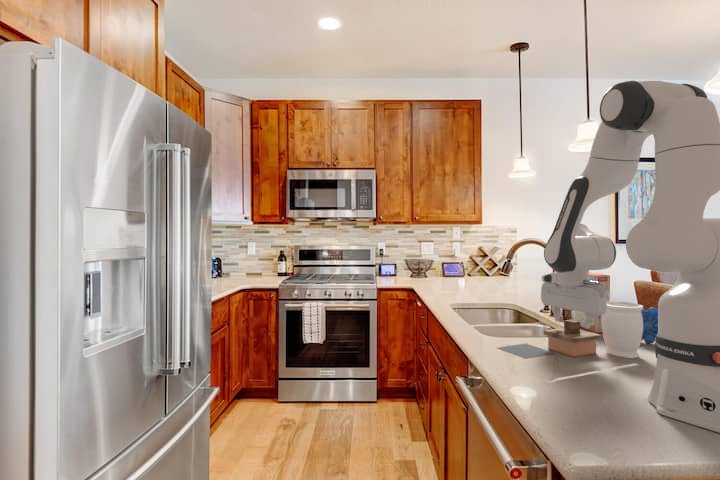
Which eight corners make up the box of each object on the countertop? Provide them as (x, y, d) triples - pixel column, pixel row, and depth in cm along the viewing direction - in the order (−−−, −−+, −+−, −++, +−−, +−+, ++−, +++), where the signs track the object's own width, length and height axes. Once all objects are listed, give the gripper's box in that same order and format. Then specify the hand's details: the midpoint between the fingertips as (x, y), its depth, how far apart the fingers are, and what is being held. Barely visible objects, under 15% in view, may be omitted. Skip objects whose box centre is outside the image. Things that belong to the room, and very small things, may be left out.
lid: (601, 339, 120) (602, 322, 119) (574, 343, 115) (574, 326, 115) (569, 330, 130) (569, 315, 130) (543, 334, 125) (543, 319, 125)
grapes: (671, 343, 132) (672, 306, 132) (670, 348, 127) (670, 309, 126) (629, 338, 139) (629, 302, 139) (625, 342, 134) (625, 305, 134)
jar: (650, 361, 115) (650, 307, 114) (609, 359, 117) (609, 306, 116) (633, 350, 125) (633, 301, 125) (595, 348, 127) (596, 300, 127)
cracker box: (610, 333, 146) (611, 274, 145) (593, 333, 146) (593, 275, 145) (589, 324, 160) (589, 271, 159) (573, 324, 160) (573, 271, 159)
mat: (556, 355, 120) (556, 353, 120) (525, 360, 116) (525, 358, 116) (526, 345, 131) (526, 343, 131) (496, 349, 127) (496, 347, 127)
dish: (596, 355, 120) (596, 338, 120) (573, 359, 117) (573, 341, 117) (569, 347, 129) (569, 331, 128) (548, 350, 125) (548, 334, 125)
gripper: (612, 281, 114) (612, 331, 114) (552, 274, 133) (552, 317, 133) (596, 282, 111) (596, 333, 112) (537, 275, 130) (537, 319, 131)
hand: (571, 324), depth 122 cm, fingers open, 8 cm apart
